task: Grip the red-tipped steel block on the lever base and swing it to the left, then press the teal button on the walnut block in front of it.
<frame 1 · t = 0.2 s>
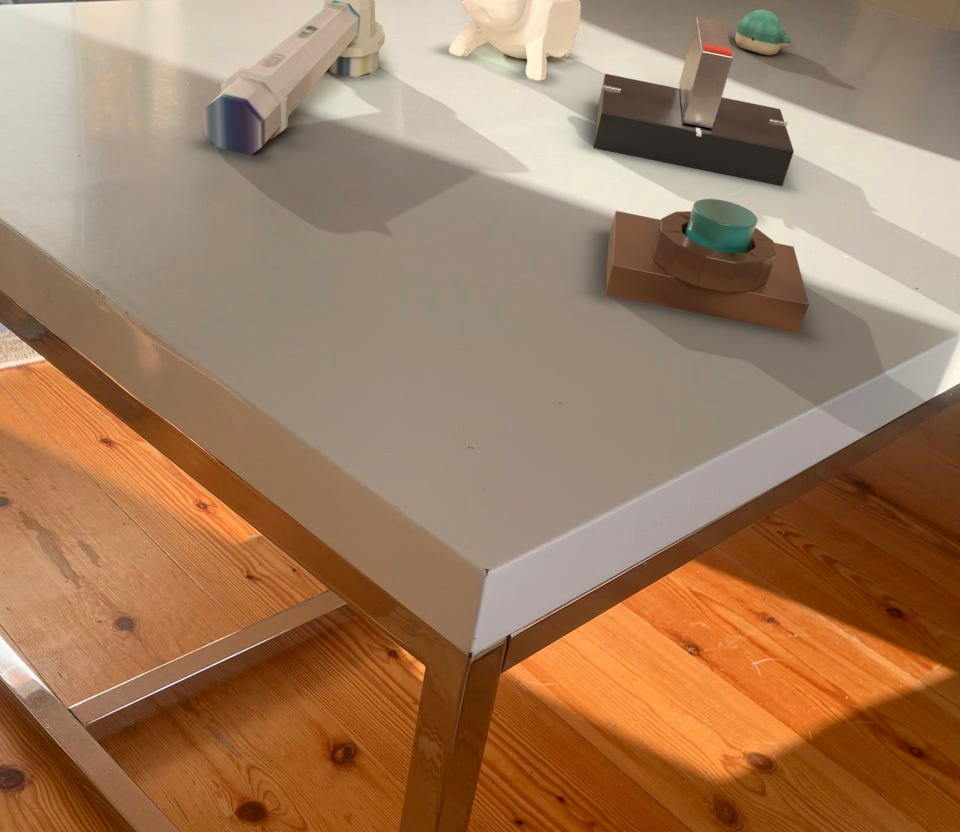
button: (721, 227, 62), point 4 cm above the table, slide at 0.1 cm
white flashlight: (302, 107, 80), on the table
red-tipped steel block: (704, 69, 83), point 6 cm above the table, hinge at 90.0°
pig figurine: (507, 67, 96), on the table
turtle figurine: (759, 50, 115), on the table
button block: (697, 289, 66), on the table
lever base: (684, 150, 86), on the table
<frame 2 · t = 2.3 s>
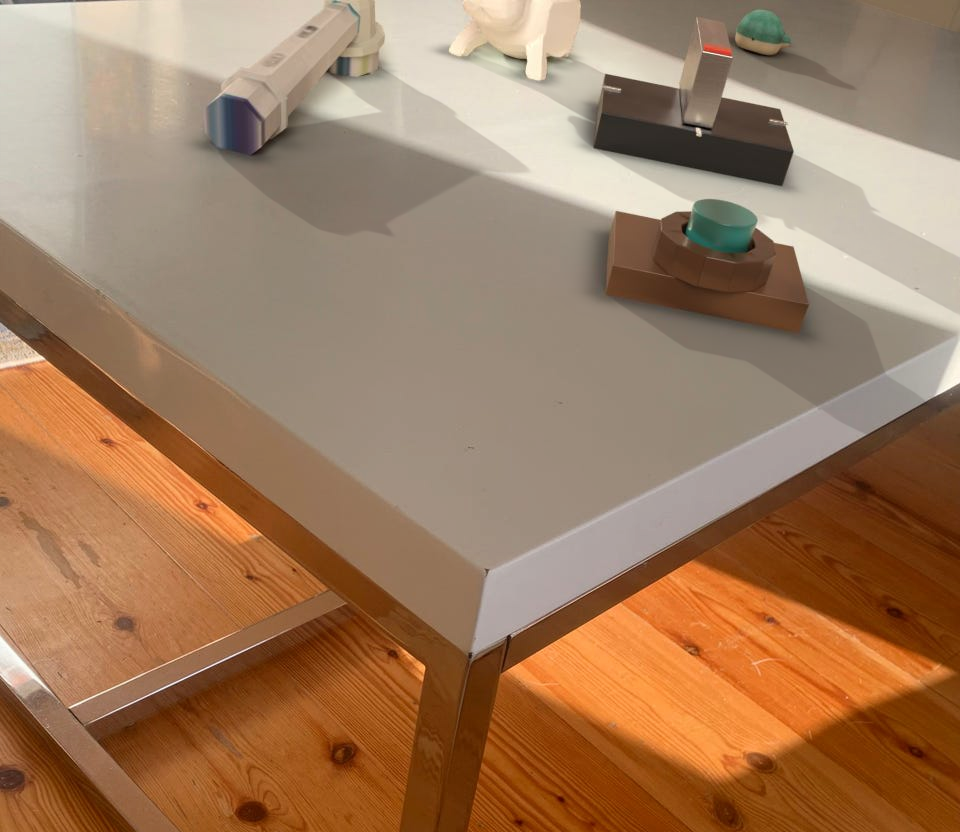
nothing on the table moved.
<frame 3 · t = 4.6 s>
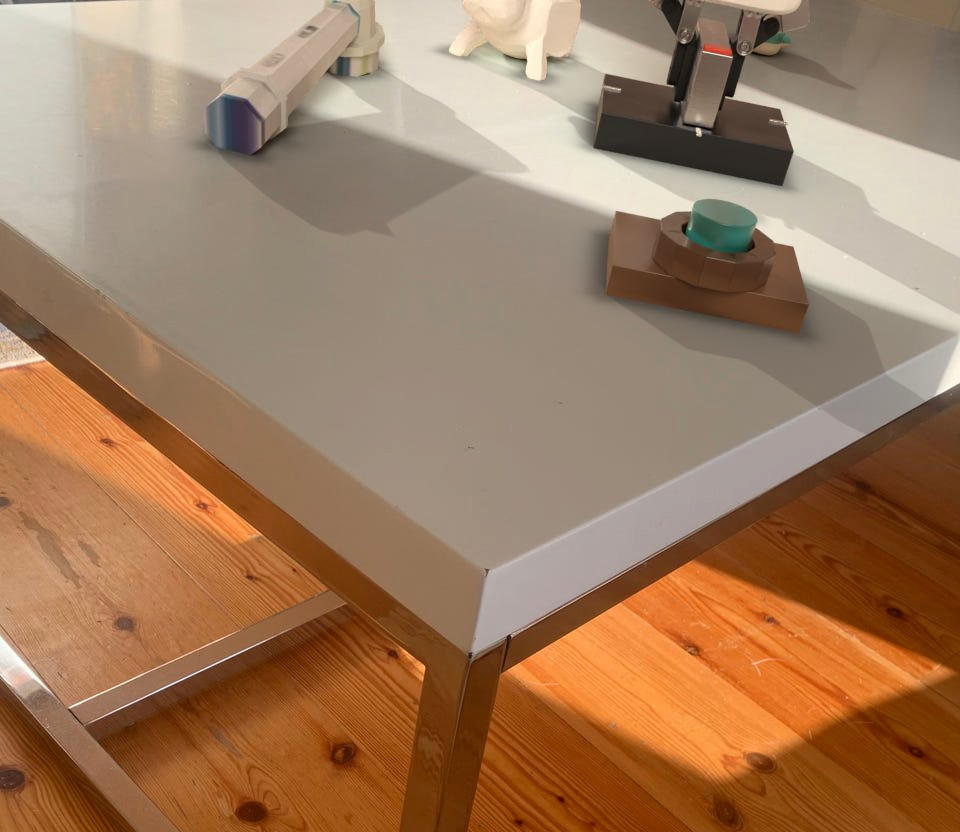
hand: (696, 98, 84), 4 cm above the table, tool pointing down, fingers closed on red-tipped steel block, 2 cm apart
red-tipped steel block: (704, 69, 83), point 6 cm above the table, hinge at 90.0°, touching gripper
everything else where it was.
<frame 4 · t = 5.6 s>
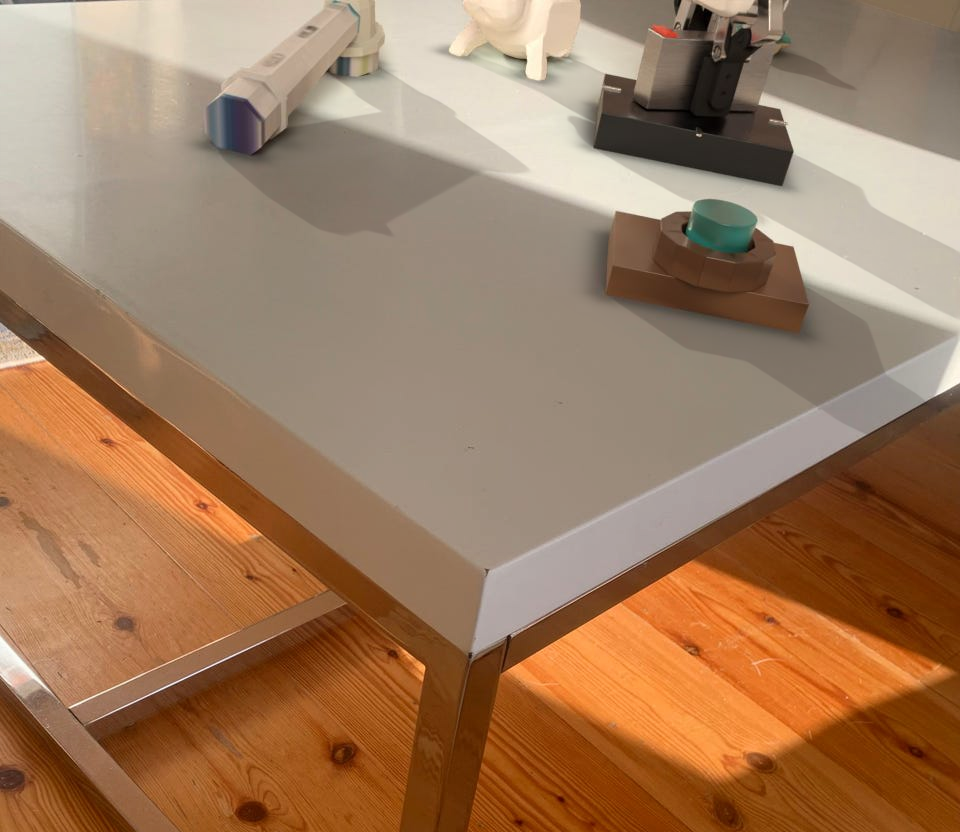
hand: (694, 102, 84), 3 cm above the table, tool pointing down, fingers open, 3 cm apart
red-tipped steel block: (704, 69, 83), point 6 cm above the table, hinge at 30.5°
everything else where it was.
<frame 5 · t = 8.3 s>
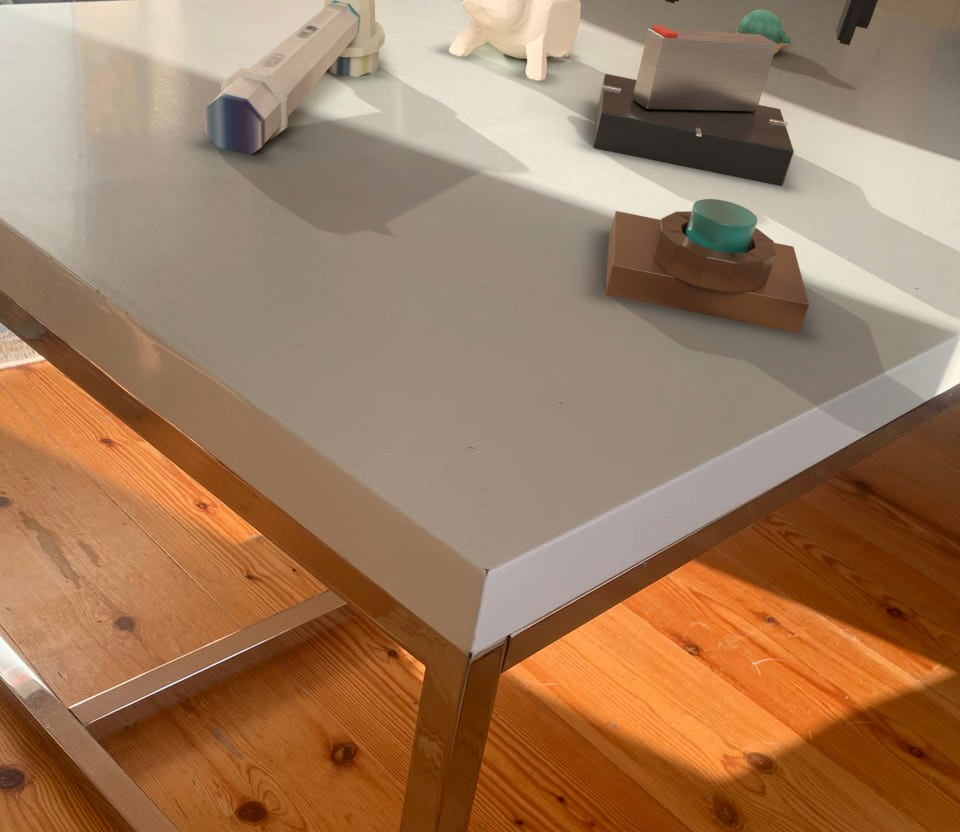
hand: (757, 18, 62), 14 cm above the table, tool pointing down, fingers open, 9 cm apart
nothing on the table moved.
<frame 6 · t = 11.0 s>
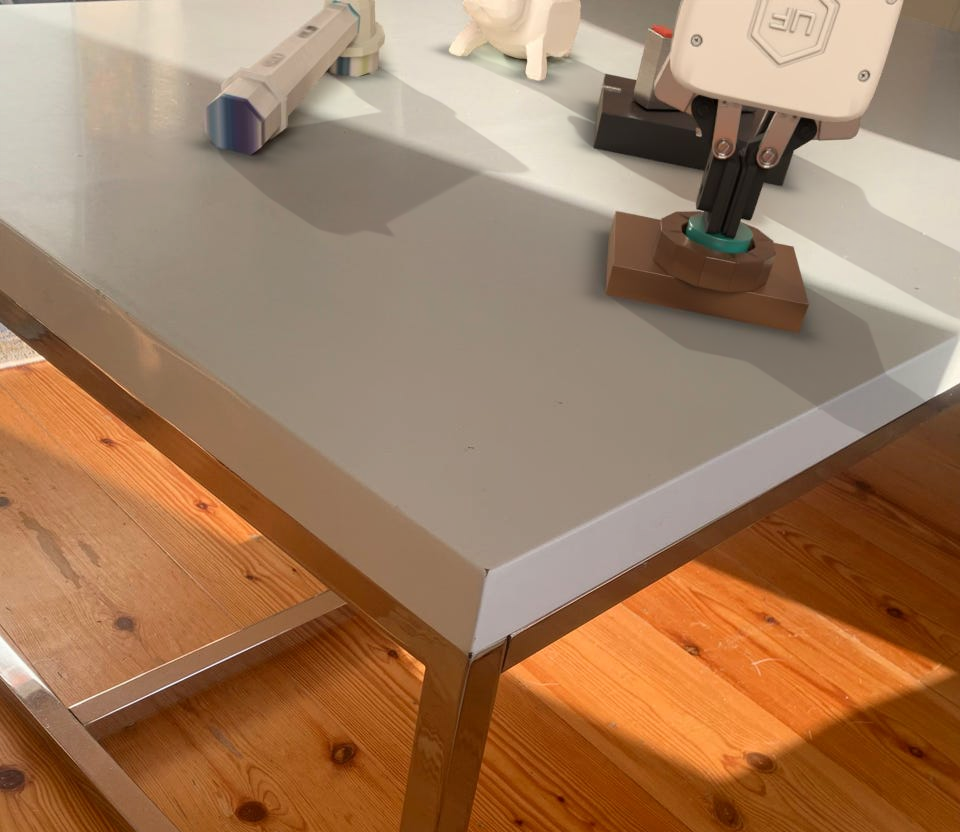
hand: (718, 225, 62), 5 cm above the table, tool pointing down, fingers closed
button: (716, 241, 63), point 4 cm above the table, slide at -0.7 cm, touching gripper
everything else where it was.
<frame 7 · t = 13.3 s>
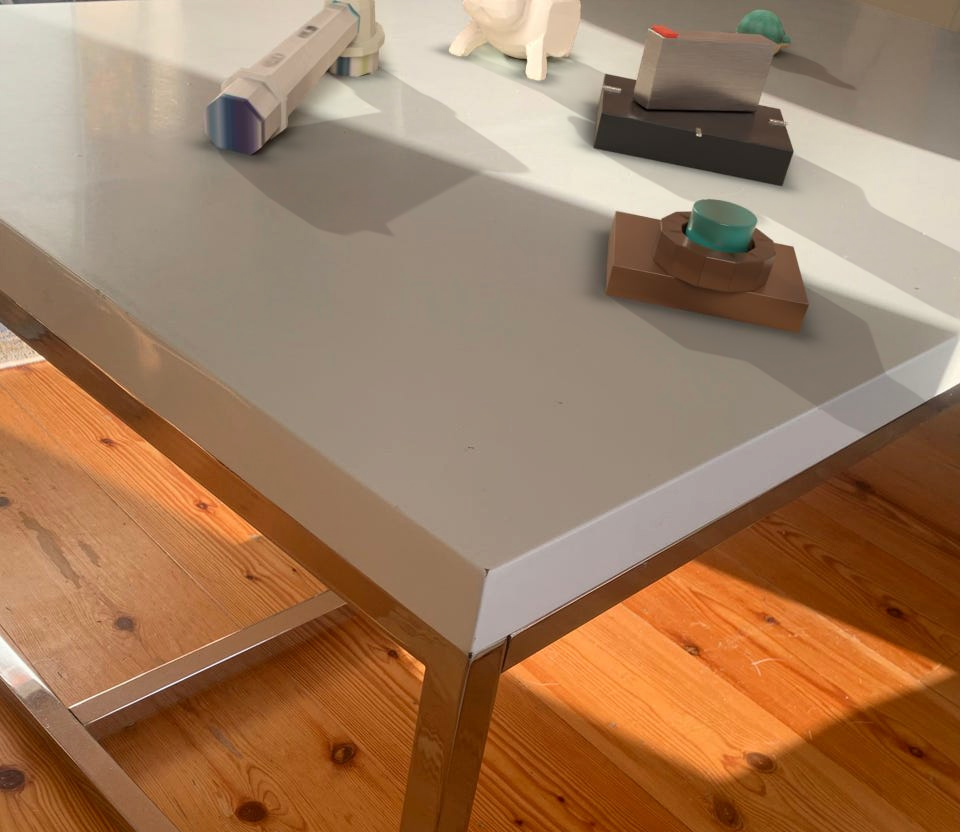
button: (720, 227, 62), point 4 cm above the table, slide at 0.1 cm
everything else where it was.
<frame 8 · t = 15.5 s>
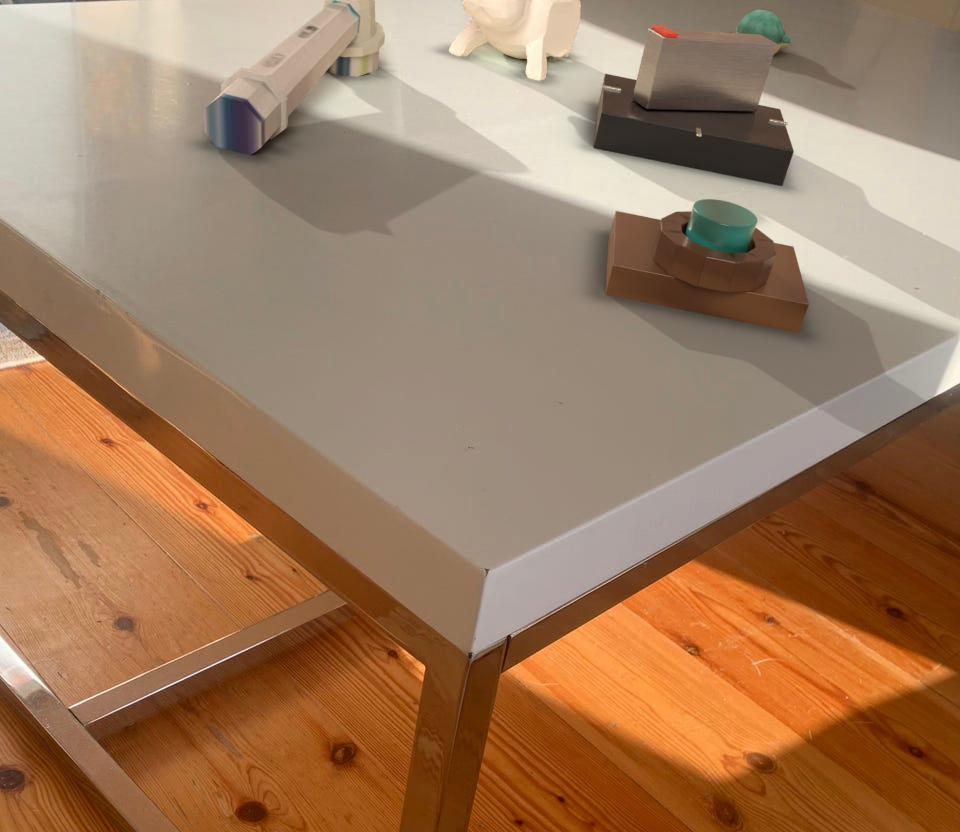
nothing on the table moved.
at the end: red-tipped steel block at +30° (first picture: +90°); button pushed in 1.1 cm at the most during the clip, back to where it started at the end; button slide at 0.1 cm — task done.
